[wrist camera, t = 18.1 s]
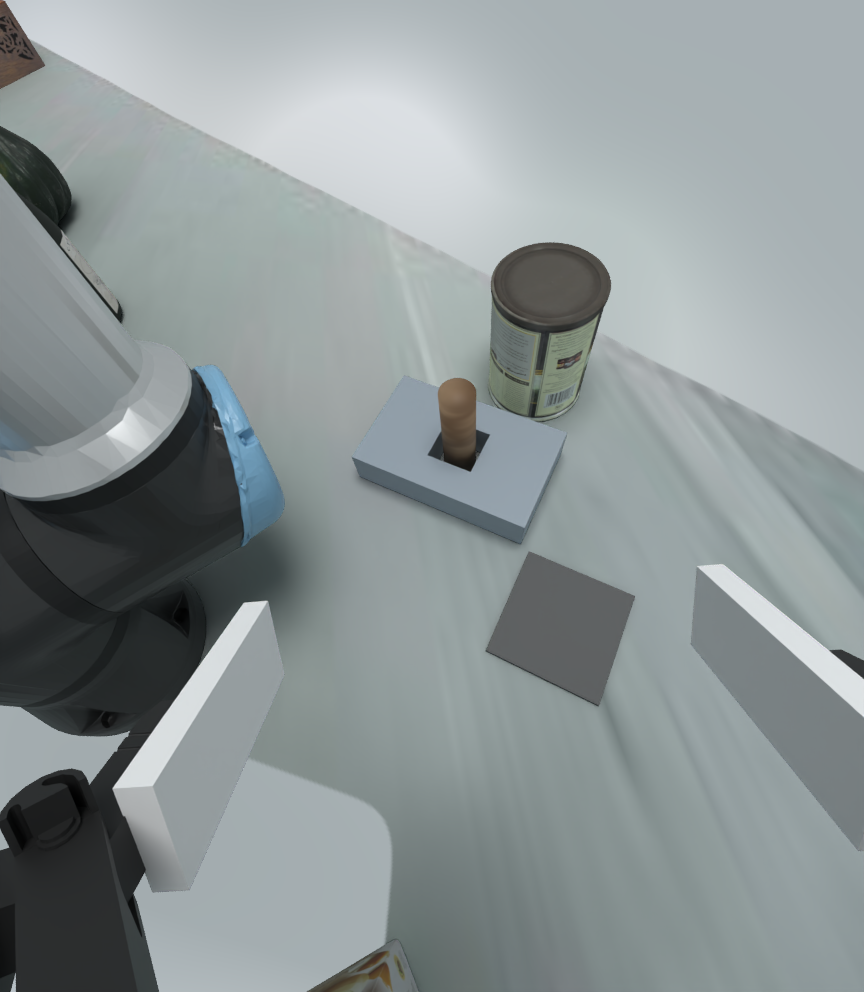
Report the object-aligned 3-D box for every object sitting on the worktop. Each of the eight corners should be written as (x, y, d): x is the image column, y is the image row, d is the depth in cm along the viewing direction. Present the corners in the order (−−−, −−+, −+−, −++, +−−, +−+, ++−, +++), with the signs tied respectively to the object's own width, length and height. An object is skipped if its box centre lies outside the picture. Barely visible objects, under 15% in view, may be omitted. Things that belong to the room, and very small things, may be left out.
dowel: (439, 472, 52) (431, 401, 41) (453, 448, 53) (447, 373, 42) (467, 483, 51) (466, 414, 40) (480, 459, 52) (482, 385, 42)
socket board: (359, 476, 52) (351, 456, 49) (408, 398, 56) (404, 375, 53) (520, 544, 48) (524, 528, 44) (560, 454, 52) (567, 432, 48)
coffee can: (522, 336, 59) (535, 226, 47) (598, 377, 56) (634, 270, 43) (468, 391, 56) (467, 290, 44) (544, 438, 53) (567, 343, 40)
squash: (-77, 234, 68) (-86, 131, 58) (-42, 174, 75) (-45, 73, 66) (51, 281, 76) (62, 197, 67) (71, 223, 84) (84, 139, 74)
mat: (485, 650, 44) (486, 650, 43) (528, 552, 47) (528, 551, 47) (597, 705, 41) (599, 705, 41) (633, 597, 45) (634, 596, 44)
